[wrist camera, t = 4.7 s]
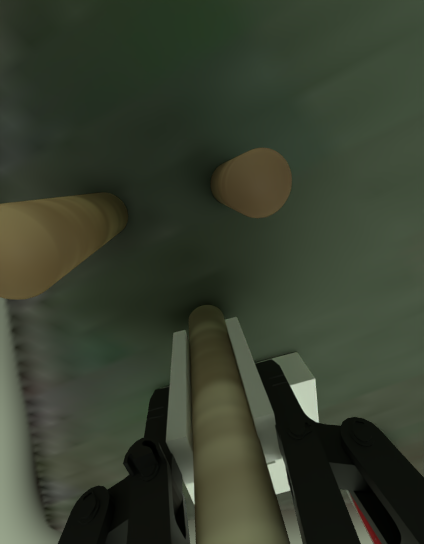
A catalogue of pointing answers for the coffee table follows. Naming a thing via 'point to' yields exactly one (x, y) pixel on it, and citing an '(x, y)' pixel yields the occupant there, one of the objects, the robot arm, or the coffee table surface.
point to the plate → (307, 399)
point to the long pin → (226, 445)
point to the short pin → (253, 182)
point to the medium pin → (53, 238)
